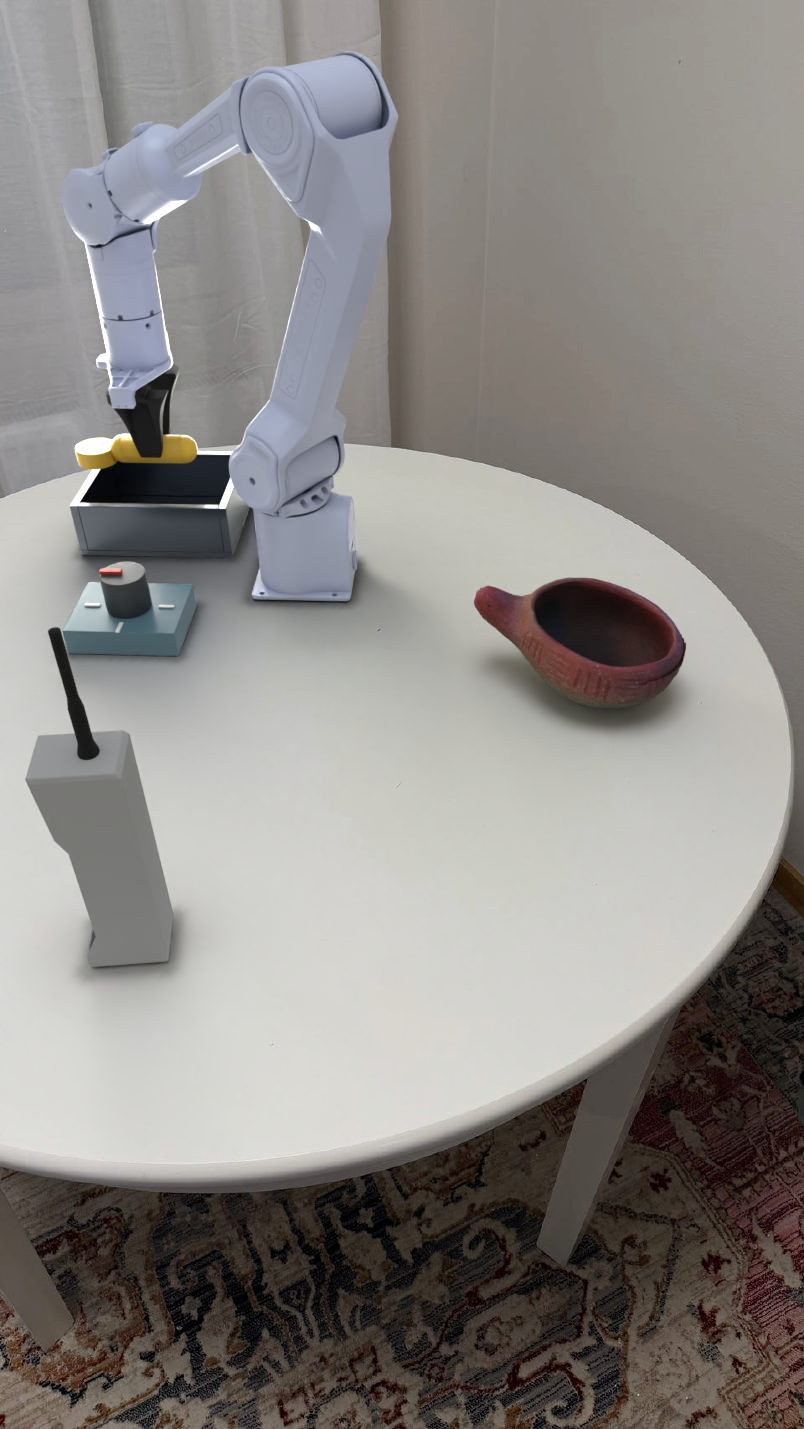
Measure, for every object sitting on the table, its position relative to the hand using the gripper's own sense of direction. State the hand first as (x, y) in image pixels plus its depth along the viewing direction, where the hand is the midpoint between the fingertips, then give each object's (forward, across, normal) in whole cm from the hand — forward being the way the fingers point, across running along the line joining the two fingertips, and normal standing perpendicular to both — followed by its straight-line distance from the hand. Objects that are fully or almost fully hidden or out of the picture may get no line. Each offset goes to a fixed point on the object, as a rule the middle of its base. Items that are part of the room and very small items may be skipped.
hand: (155, 448), depth 101 cm
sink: (+9, 0, 0) cm, 9 cm away
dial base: (+9, +19, +1) cm, 21 cm away
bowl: (+9, +26, +41) cm, 49 cm away
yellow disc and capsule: (+1, 0, -2) cm, 2 cm away
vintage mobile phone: (+9, +54, +10) cm, 55 cm away
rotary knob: (+6, +19, +1) cm, 20 cm away
